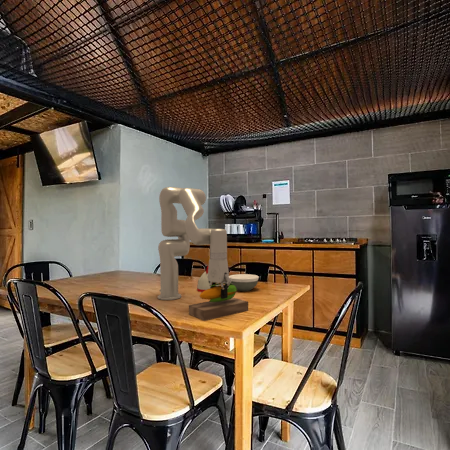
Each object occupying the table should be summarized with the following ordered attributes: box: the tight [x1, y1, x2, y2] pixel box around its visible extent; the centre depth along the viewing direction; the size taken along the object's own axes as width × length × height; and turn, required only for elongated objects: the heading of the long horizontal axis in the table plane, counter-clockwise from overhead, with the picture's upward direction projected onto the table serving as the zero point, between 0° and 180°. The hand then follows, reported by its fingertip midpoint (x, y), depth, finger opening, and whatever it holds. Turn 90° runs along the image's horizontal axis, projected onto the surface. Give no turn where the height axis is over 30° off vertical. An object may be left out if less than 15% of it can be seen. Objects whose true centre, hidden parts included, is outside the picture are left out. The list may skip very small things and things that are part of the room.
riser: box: [188, 297, 249, 322], centre depth 134 cm, size 12×24×4 cm, turn 128°
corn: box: [199, 283, 238, 302], centre depth 134 cm, size 7×8×20 cm
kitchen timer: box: [196, 265, 221, 293], centre depth 184 cm, size 14×14×15 cm
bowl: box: [229, 273, 260, 292], centre depth 184 cm, size 19×19×8 cm
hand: (218, 296), depth 134 cm, fingers closed on corn, 7 cm apart
